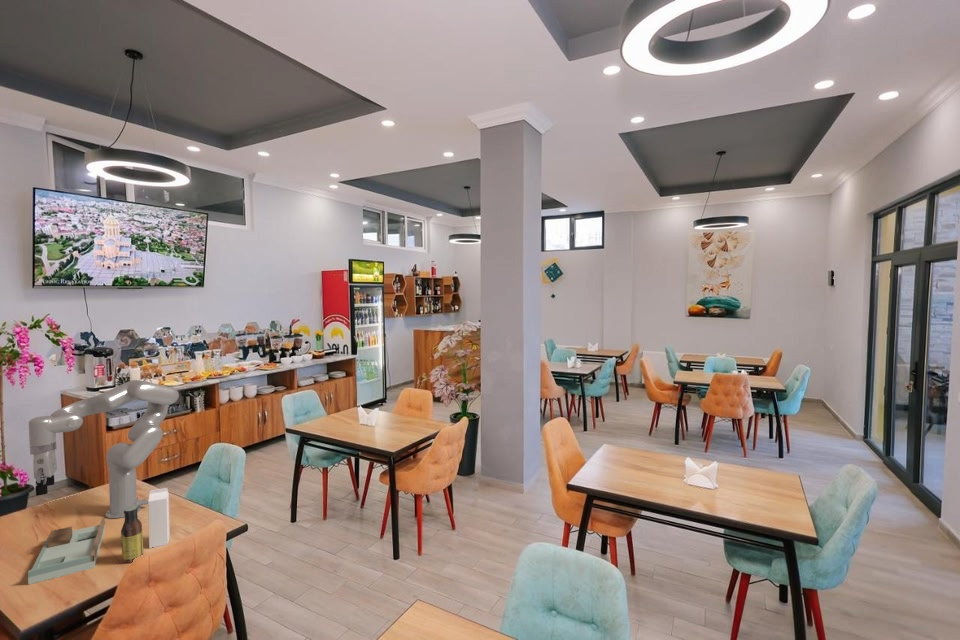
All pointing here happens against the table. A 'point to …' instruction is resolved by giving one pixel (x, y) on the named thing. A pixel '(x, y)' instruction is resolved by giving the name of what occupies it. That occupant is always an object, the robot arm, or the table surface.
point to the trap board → (69, 555)
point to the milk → (158, 517)
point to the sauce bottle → (131, 535)
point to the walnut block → (59, 537)
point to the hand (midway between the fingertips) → (45, 489)
